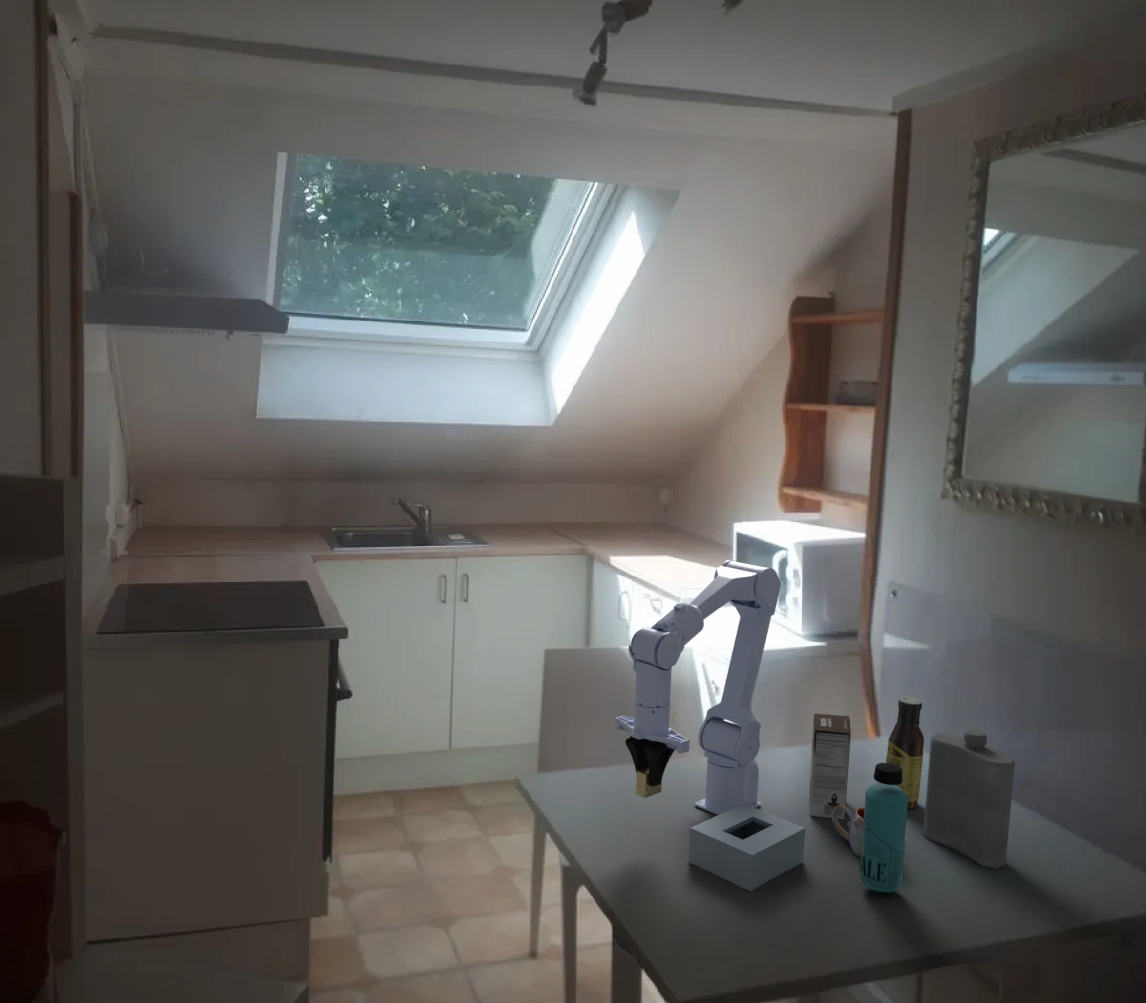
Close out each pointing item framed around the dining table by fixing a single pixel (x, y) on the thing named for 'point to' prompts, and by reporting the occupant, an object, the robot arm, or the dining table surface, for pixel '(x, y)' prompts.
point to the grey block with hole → (746, 846)
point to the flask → (969, 797)
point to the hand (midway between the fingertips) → (649, 782)
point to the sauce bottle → (908, 747)
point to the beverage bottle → (884, 830)
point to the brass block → (646, 784)
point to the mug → (851, 827)
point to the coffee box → (829, 764)
